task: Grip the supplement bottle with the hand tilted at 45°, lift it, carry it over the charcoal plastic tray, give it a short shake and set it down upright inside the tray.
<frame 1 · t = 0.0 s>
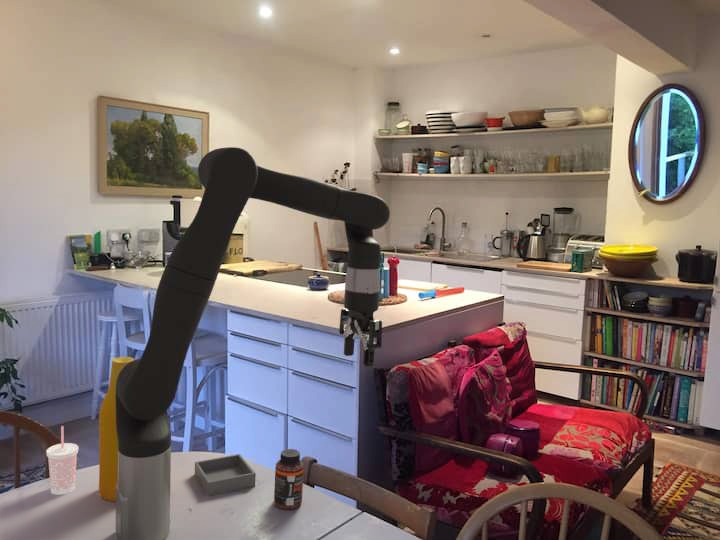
hand: (358, 360, 132), 29 cm above the table, tool pointing down, fingers open, 8 cm apart
yellow bottle: (122, 492, 127), on the table
beverage cup: (62, 490, 127), on the table
supplement bottle: (287, 504, 126), on the table
tray: (224, 480, 135), on the table
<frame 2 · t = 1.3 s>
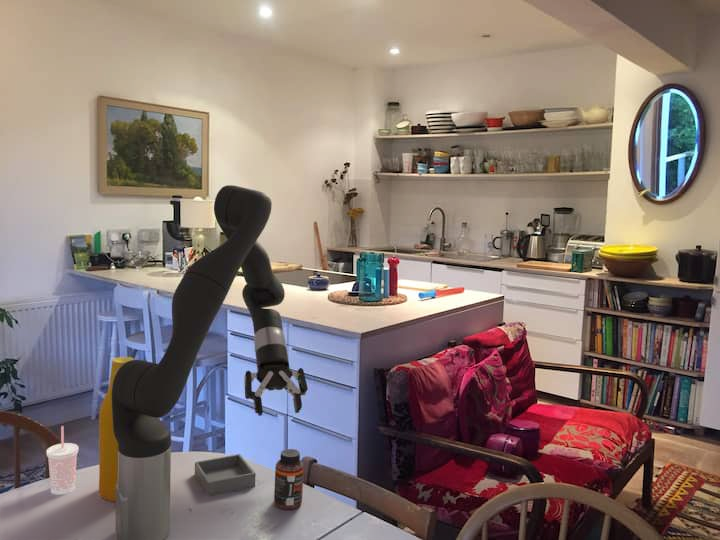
hand: (279, 413, 135), 16 cm above the table, tool tilted 45°, fingers open, 8 cm apart
nothing on the table moved.
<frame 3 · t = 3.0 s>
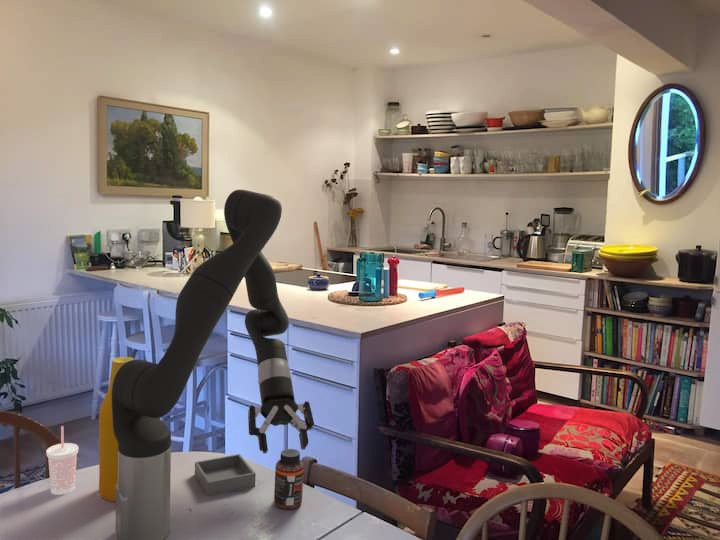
hand: (285, 450, 129), 10 cm above the table, tool tilted 45°, fingers open, 8 cm apart
nothing on the table moved.
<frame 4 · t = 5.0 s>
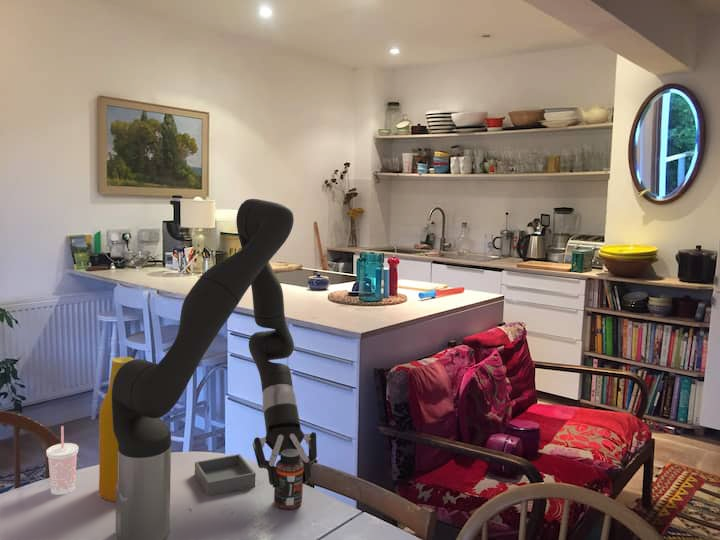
hand: (291, 484, 124), 5 cm above the table, tool tilted 45°, fingers closed on supplement bottle, 6 cm apart
supplement bottle: (287, 504, 126), on the table, touching gripper
everything else where it was.
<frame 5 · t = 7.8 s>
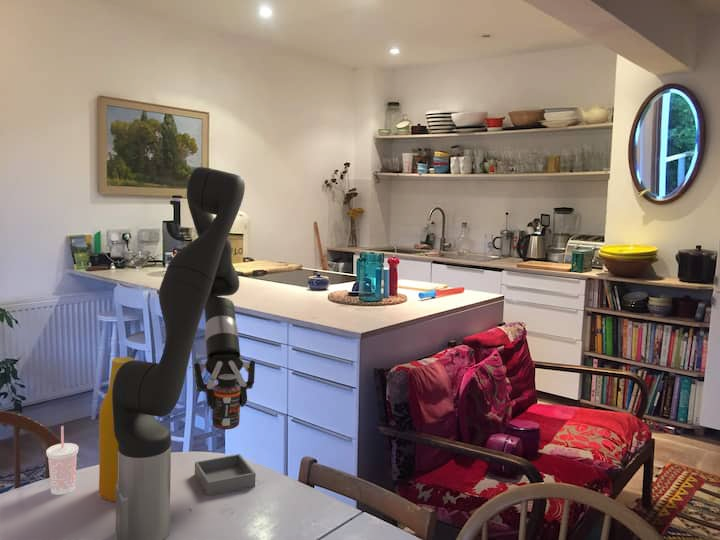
hand: (227, 406, 131), 18 cm above the table, tool tilted 45°, fingers closed on supplement bottle, 6 cm apart
supplement bottle: (225, 426, 133), point 13 cm above the table, touching gripper
everything else where it was.
when the fingers open (7 cm above the table, at t = 10.6 s): supplement bottle drops 2 cm, resting on tray.
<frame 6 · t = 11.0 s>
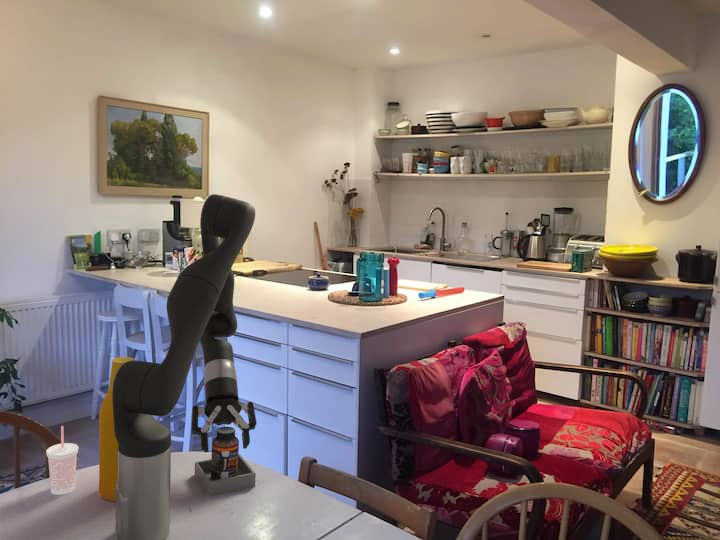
hand: (226, 449, 132), 8 cm above the table, tool tilted 45°, fingers open, 8 cm apart
supplement bottle: (224, 478, 135), resting on tray
everything else where it was.
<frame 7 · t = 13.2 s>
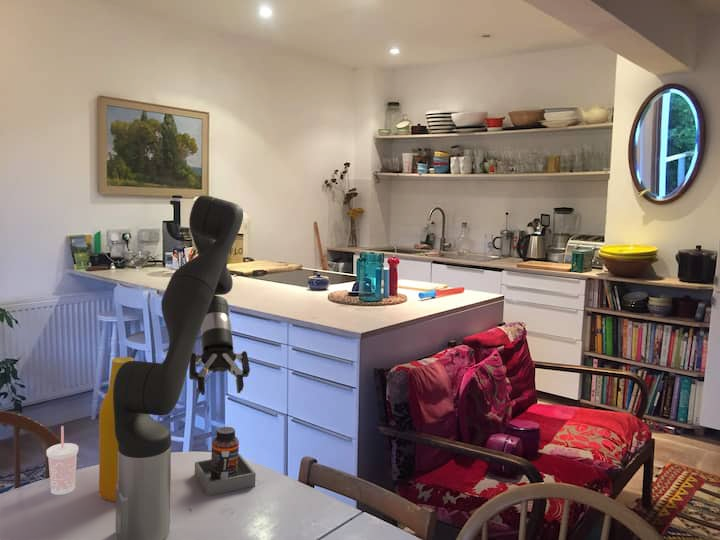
hand: (221, 392, 142), 17 cm above the table, tool tilted 45°, fingers open, 8 cm apart
nothing on the table moved.
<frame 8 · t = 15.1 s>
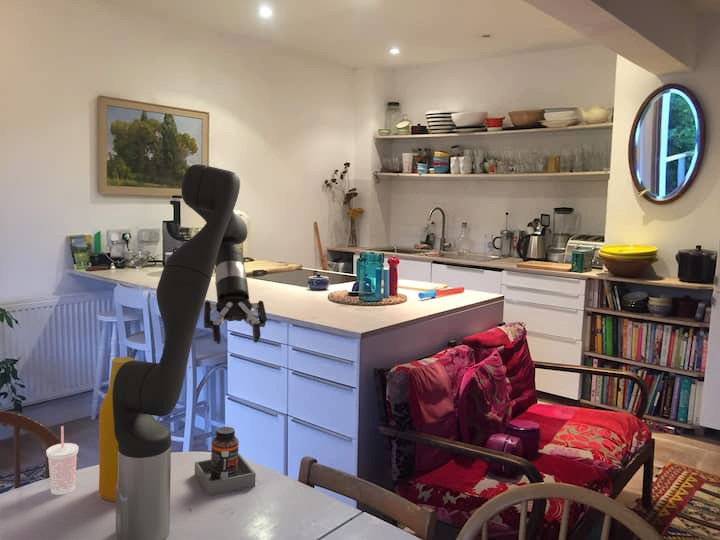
hand: (237, 341, 136), 31 cm above the table, tool tilted 45°, fingers open, 8 cm apart
nothing on the table moved.
at the end: supplement bottle 0.2 cm off-centre on the tray, point 0.3 cm above the tray's base; supplement bottle tilted 0°; the gripper is holding nothing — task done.
